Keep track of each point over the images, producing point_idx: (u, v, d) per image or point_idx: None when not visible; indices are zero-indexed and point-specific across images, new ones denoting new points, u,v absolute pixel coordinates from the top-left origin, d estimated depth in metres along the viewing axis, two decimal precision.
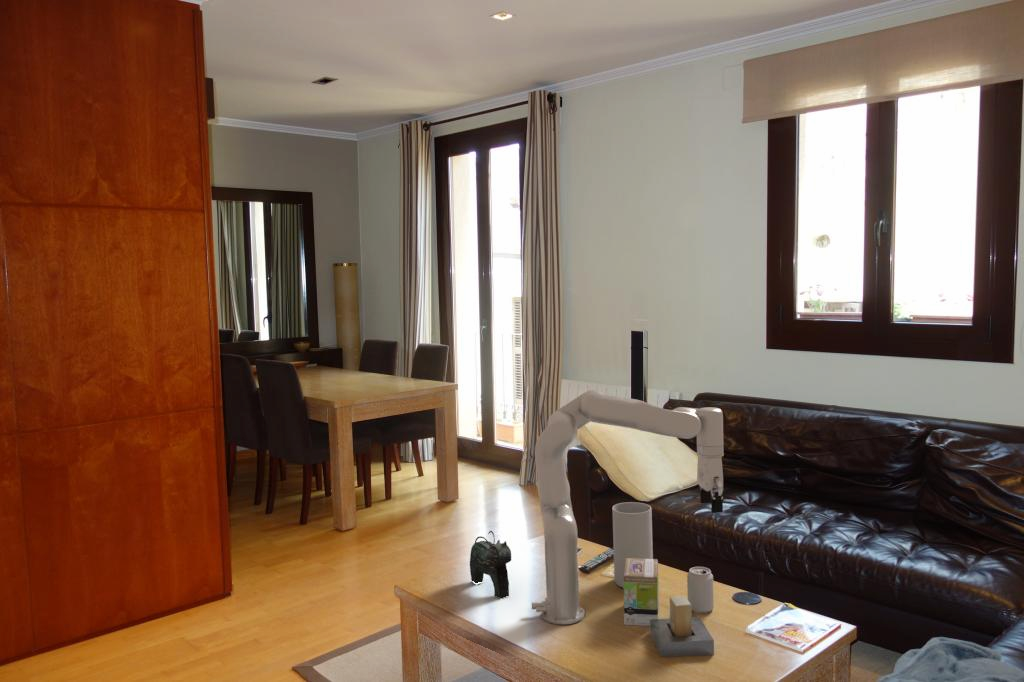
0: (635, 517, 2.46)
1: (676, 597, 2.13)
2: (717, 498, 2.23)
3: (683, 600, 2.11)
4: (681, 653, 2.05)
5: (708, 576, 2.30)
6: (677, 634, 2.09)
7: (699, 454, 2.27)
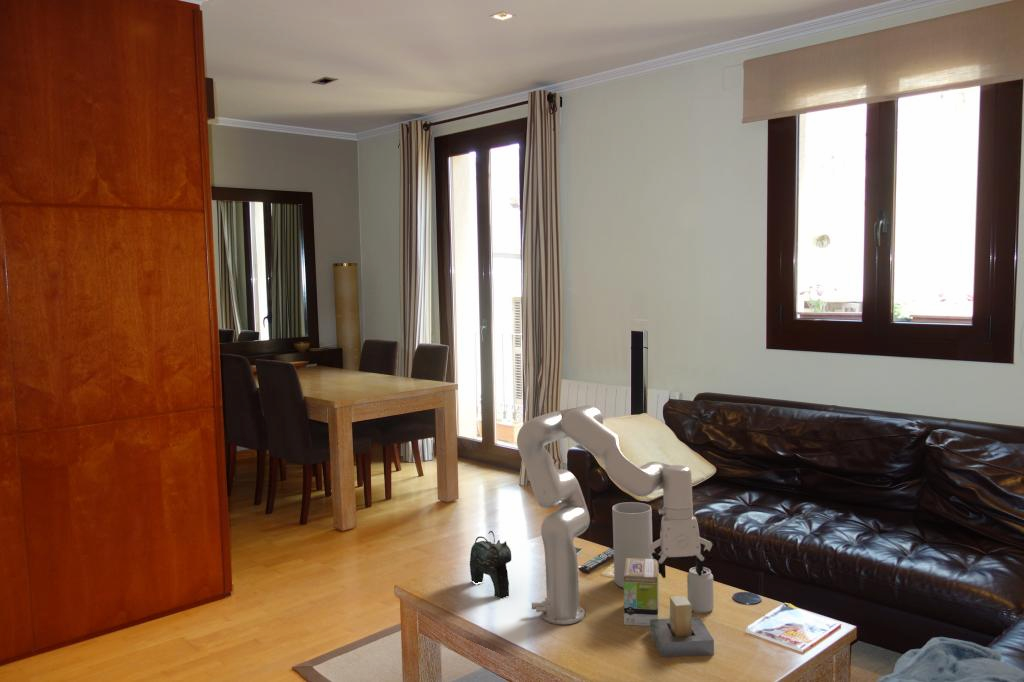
0: (635, 517, 2.46)
1: (676, 597, 2.13)
2: None
3: (683, 600, 2.11)
4: (681, 653, 2.05)
5: (708, 576, 2.30)
6: (677, 634, 2.09)
7: (685, 519, 2.05)
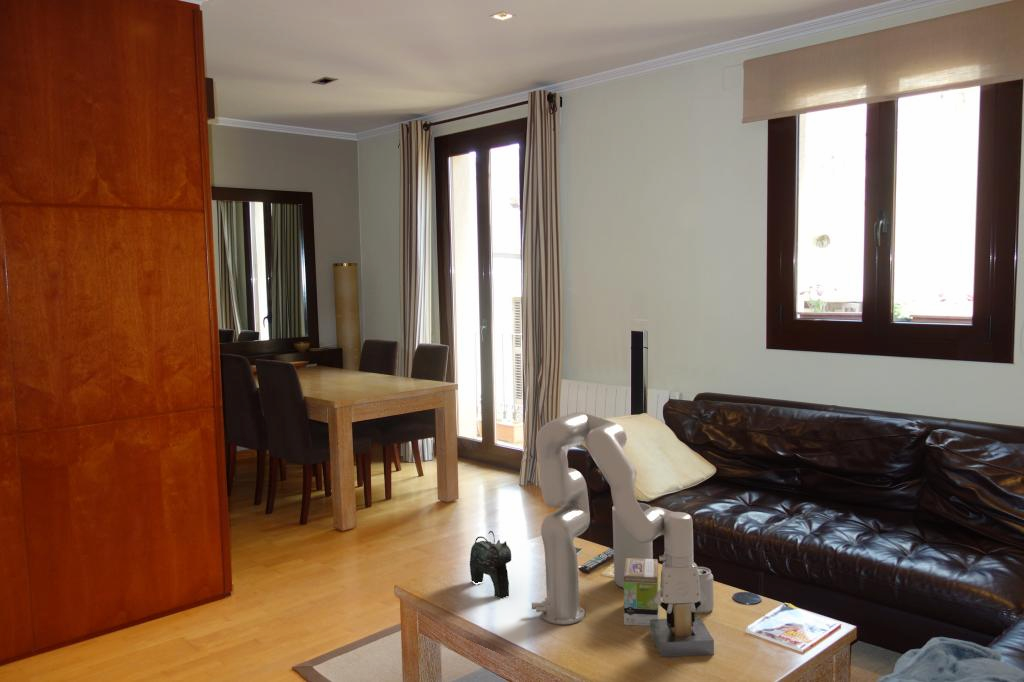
0: None
1: None
2: None
3: None
4: (681, 653, 2.05)
5: (708, 576, 2.30)
6: (677, 634, 2.08)
7: (686, 567, 2.07)
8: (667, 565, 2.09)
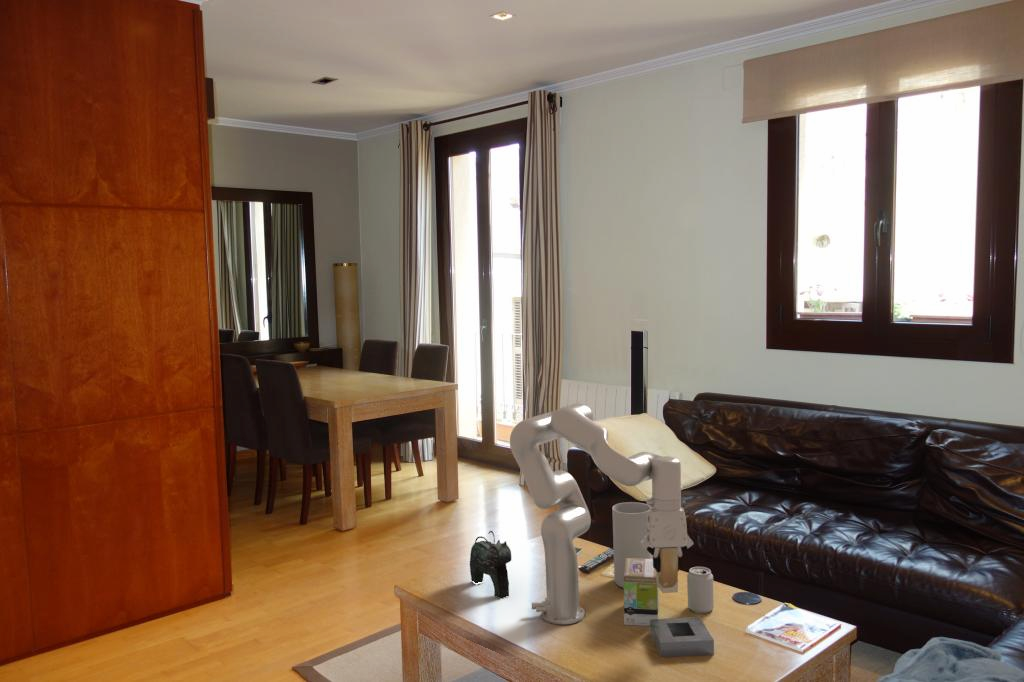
0: (635, 517, 2.46)
1: None
2: None
3: None
4: (681, 653, 2.05)
5: (708, 576, 2.30)
6: (663, 578, 2.07)
7: (673, 510, 2.05)
8: (654, 509, 2.07)
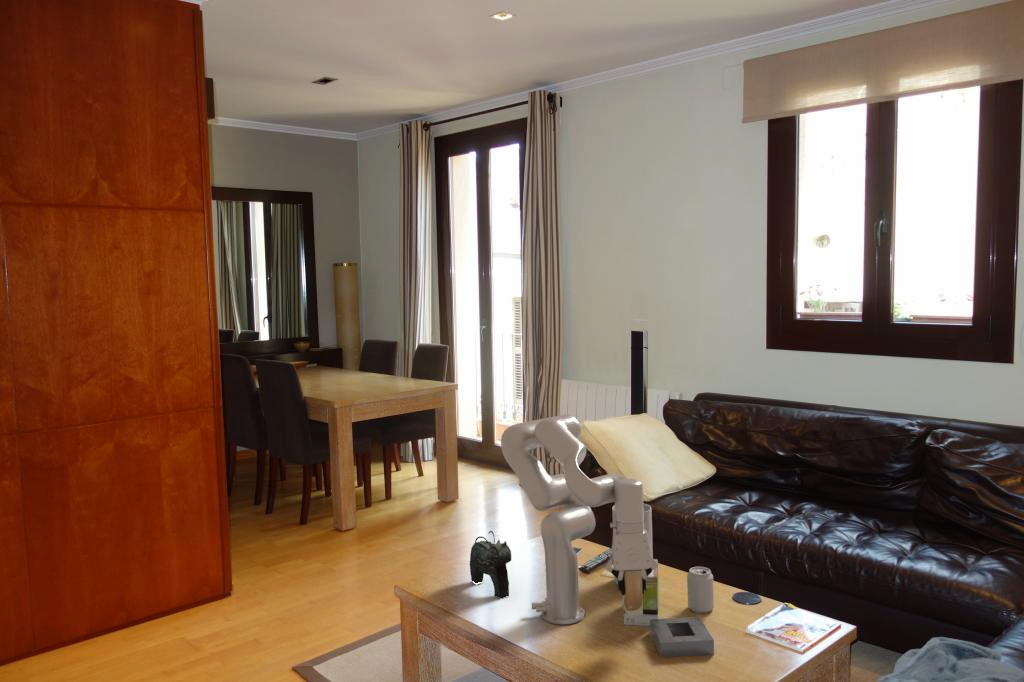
0: None
1: None
2: None
3: None
4: (681, 653, 2.05)
5: (708, 576, 2.30)
6: (628, 601, 2.07)
7: (636, 533, 2.05)
8: (617, 532, 2.08)
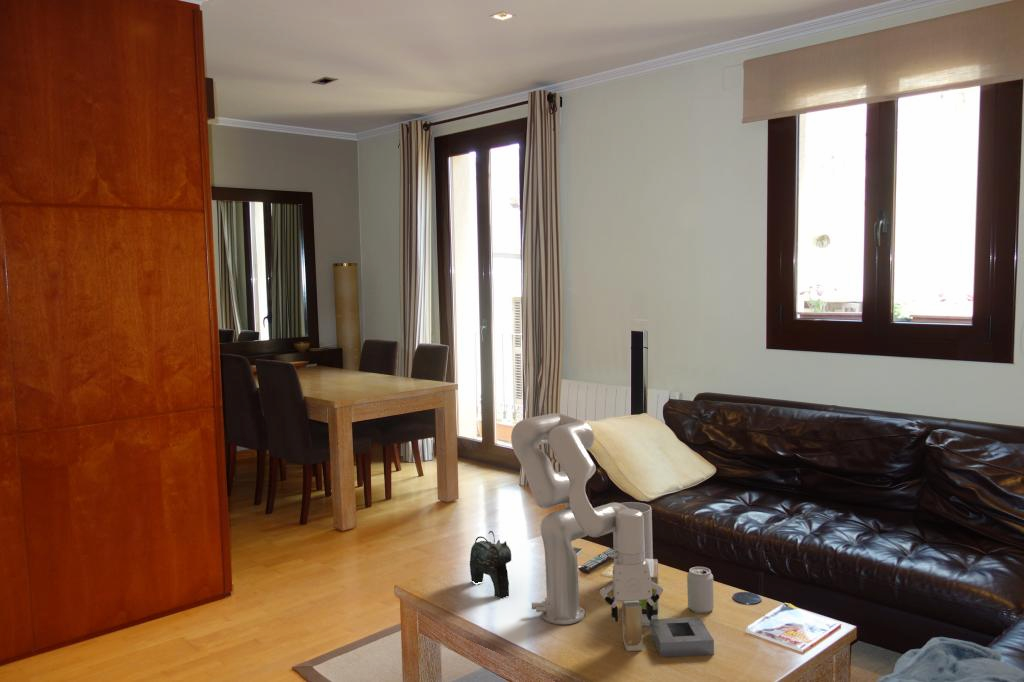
0: None
1: None
2: None
3: (634, 602, 2.11)
4: (681, 653, 2.05)
5: (708, 576, 2.30)
6: (627, 636, 2.08)
7: (637, 564, 2.06)
8: (618, 562, 2.08)
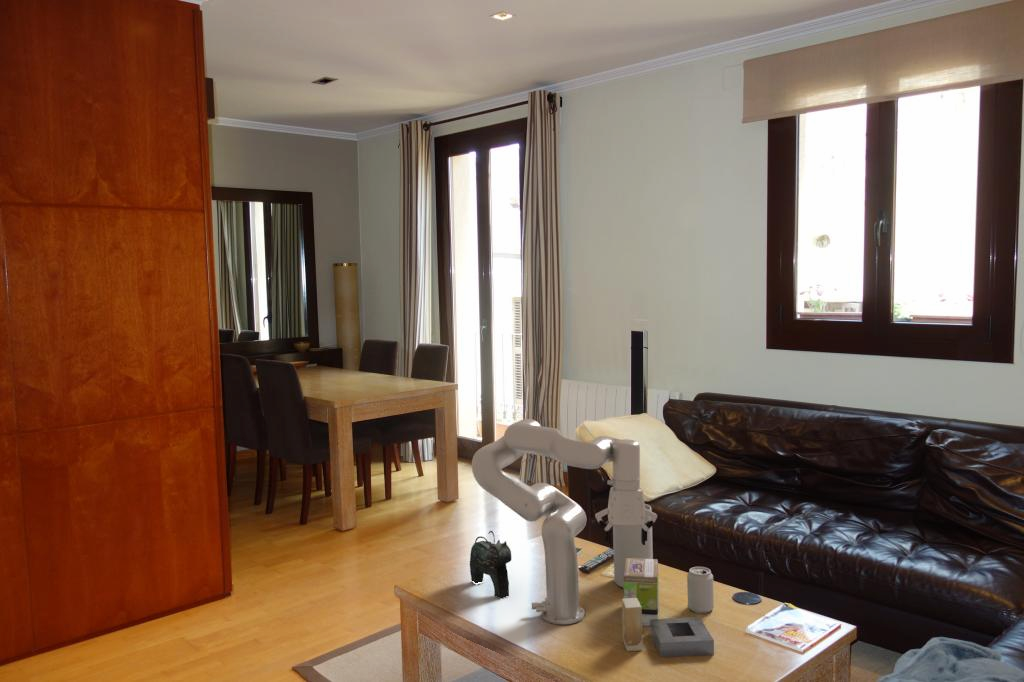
0: None
1: (628, 599, 2.12)
2: None
3: (634, 602, 2.11)
4: (681, 653, 2.05)
5: (708, 576, 2.30)
6: (627, 636, 2.08)
7: (631, 490, 2.16)
8: (614, 489, 2.19)
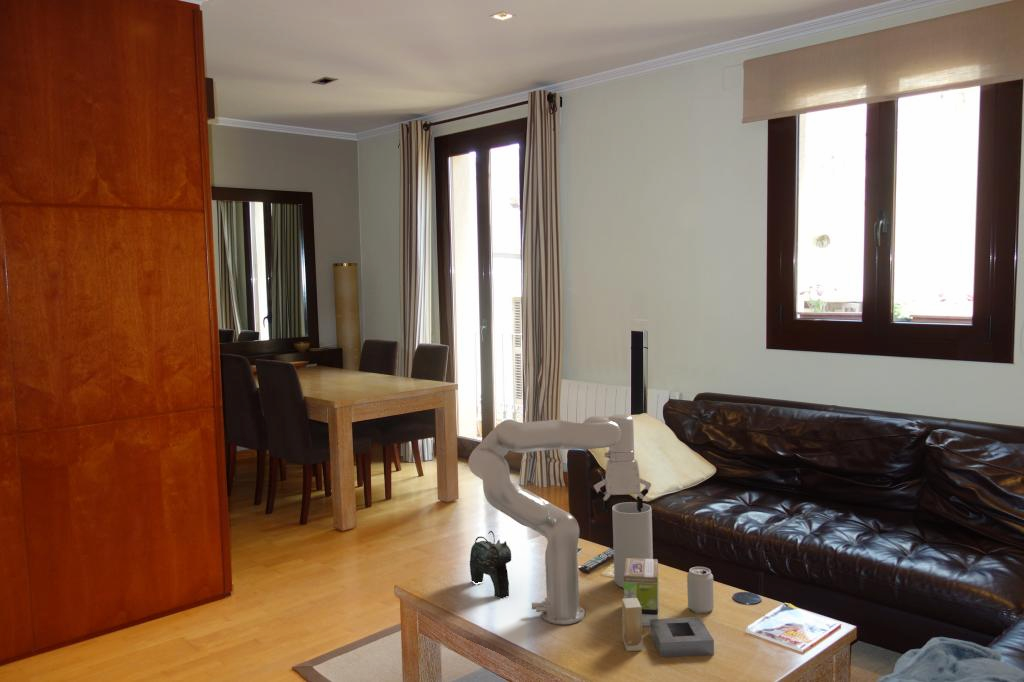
0: (635, 517, 2.46)
1: (628, 599, 2.12)
2: None
3: (634, 602, 2.10)
4: (681, 653, 2.05)
5: (708, 576, 2.30)
6: (627, 636, 2.08)
7: (627, 461, 2.33)
8: (611, 460, 2.36)
